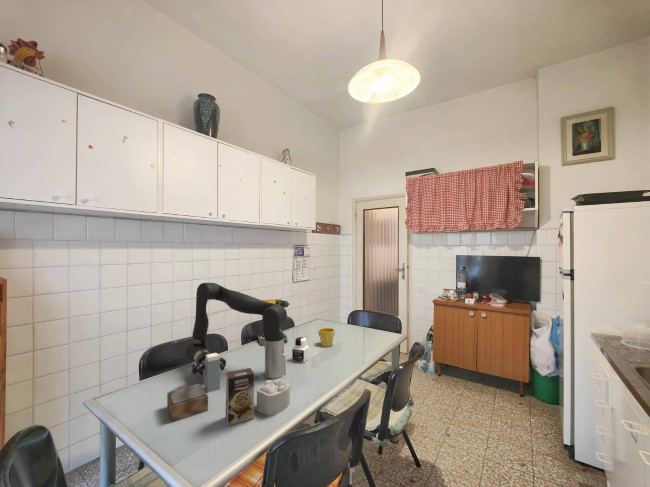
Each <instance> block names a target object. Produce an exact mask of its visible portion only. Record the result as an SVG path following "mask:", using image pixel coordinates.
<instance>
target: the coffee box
mask: <svg viewBox="0 0 650 487" xmlns="http://www.w3.org/2000/svg"><path fill="white" fill-rule="evenodd" d="M253 419H255V373H254V371H253V370H252V368H251V367H249V368H248V367H247V368H244V369H243V368H241V369H237V370H231V371H227V372H225V420H226V424H227V426H232V425H236V424H240V423H244V422H246V421H250V420H253Z"/></svg>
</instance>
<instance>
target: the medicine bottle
mask: <svg viewBox="0 0 650 487" xmlns="http://www.w3.org/2000/svg"><path fill="white" fill-rule="evenodd" d="M294 342H295V343H294V345H295V346H293V347H292V348H291V349H292V350H291V351H292V353H291V356H292V358H291V359H292V362H294V363H300V362H301V364H305V363H306V362H308V360H309V359H310V345H307V338H306V337H304V336H299V337H295V340H294Z"/></svg>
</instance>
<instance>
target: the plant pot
mask: <svg viewBox="0 0 650 487" xmlns="http://www.w3.org/2000/svg"><path fill="white" fill-rule="evenodd" d="M335 332H336V331H335V329H334V328H332V327H321V328H319V329H318V336H319V339H320V343H321V346H322V347H324V346H330V347H332V346H333V343H334V342H333V341H334V336H335ZM331 345H332V346H331Z"/></svg>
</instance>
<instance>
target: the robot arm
mask: <svg viewBox="0 0 650 487" xmlns="http://www.w3.org/2000/svg"><path fill="white" fill-rule="evenodd" d="M195 295H196V297H195V317H194V318H195V320H194V323H193V324H194V325H193V330H192V335H191V337H192V339H194V340H197V341H199V343H197V342H195V343H193V342H191V343H189V344H187V346H185V349H184V353H185V356H186V358H187V359H189V360H192V361H194V363H192V364H191V366H190V368H191V372H192V375H196V374H198V375H199V376H200V377H201V376H204V372H205V358H206V355H208V354H211V352H210V351H208V343H207V335H208V329H209V317H208V313H207V304H208V301H210V300H211V301H212V300H214V301H220V302H222V303H225V304H226V305H227V307H229V308H230V309H232V310H234V311H236V312H239V313H242V314H246V315H247V314H249V315H257V316H258V315H260V316H261V317H262V318H261V319H262V321H261V322H262V334H264V338H265V340H264V341H265V346H264V377H266V378H268V379H280V378H281V377H283V376H285V375H286V374H287V373H286V372H287V369H286V368H287V367H286V364H287V363H286V362H287V360H286V354H285V343H284V334H285V333H284V332H283V331H282V330H281V326H280V324H281V323H283V322H284V321H285V320H286V319H287V316H288V314H287V313H288V311H287V310H286V307H283V306H281V305H278V304H273V303H269V302H265V301H262V299H259V298H256V297H254V296H251V295H248V294H245V293H243V292H239V291H236V290H233V289H230V288H229V289H228V288H227V287H224V286H222V285H221V284H218V283H216V282H202V283H199V285H198V286H197V289H196V294H195ZM280 330H281V331H280ZM219 359H220V371H222V372H223V371H224V370H225V367H227V360H226V359H225V358H223V357H219Z"/></svg>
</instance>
